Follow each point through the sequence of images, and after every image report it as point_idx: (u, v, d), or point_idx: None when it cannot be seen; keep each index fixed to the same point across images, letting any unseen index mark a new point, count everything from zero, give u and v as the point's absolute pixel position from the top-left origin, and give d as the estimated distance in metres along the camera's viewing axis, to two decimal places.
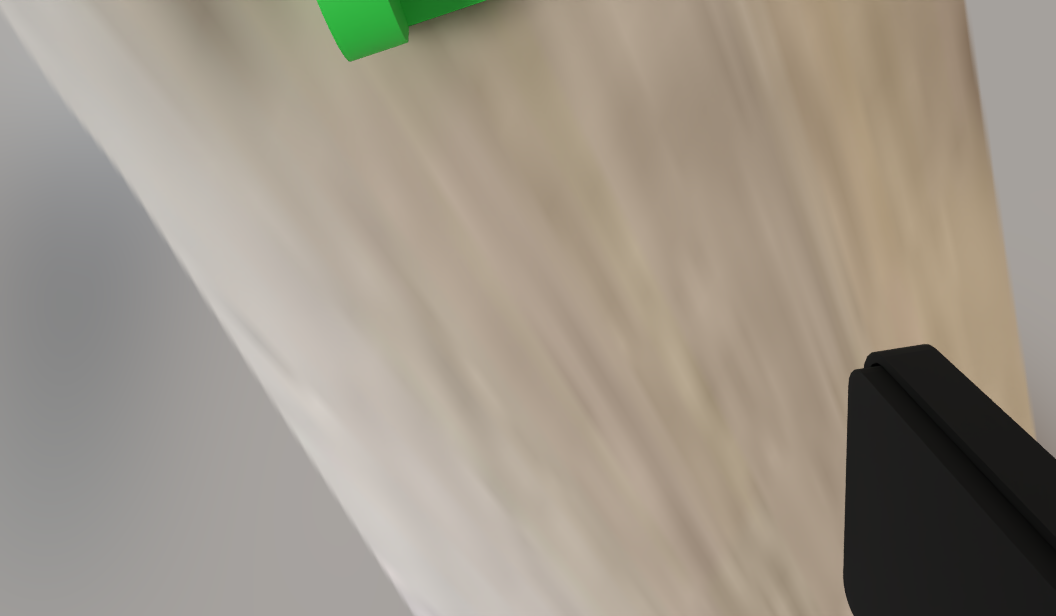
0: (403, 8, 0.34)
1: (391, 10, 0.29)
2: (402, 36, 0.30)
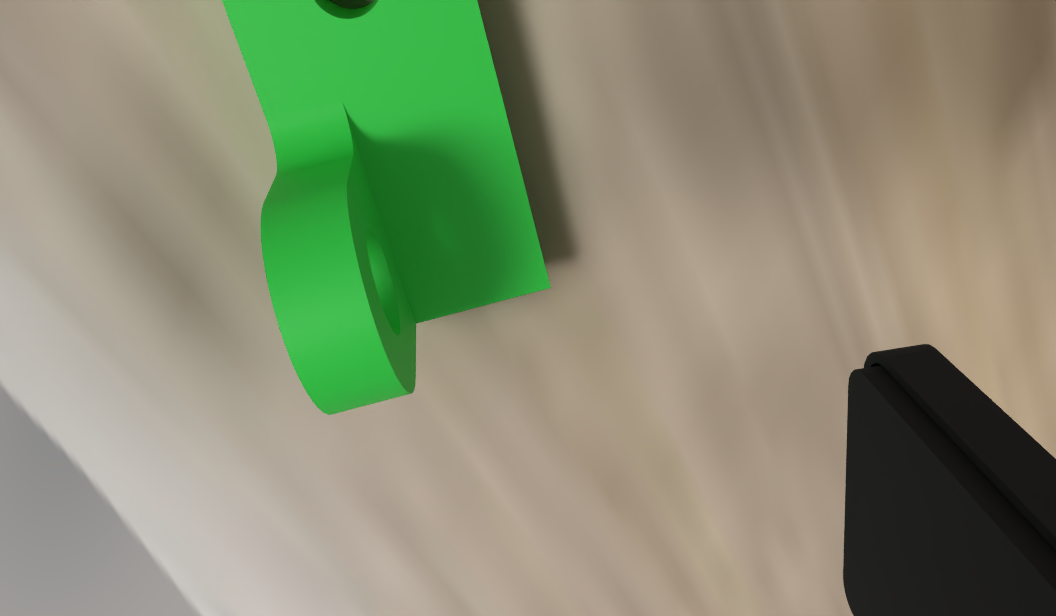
0: (410, 303, 0.27)
1: (396, 378, 0.22)
2: (408, 393, 0.23)
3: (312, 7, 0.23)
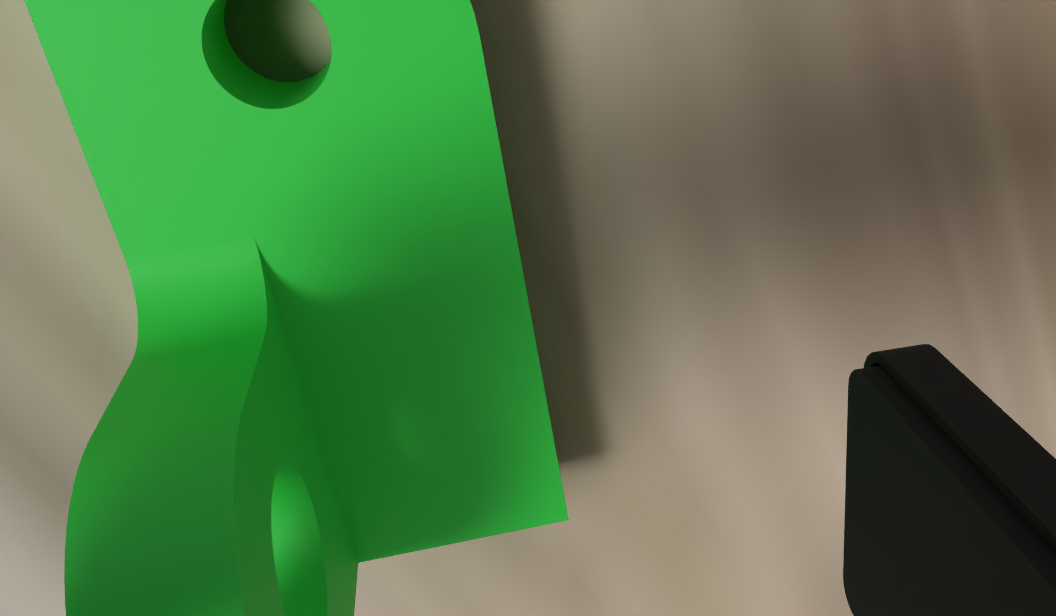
0: (351, 535, 0.17)
1: None
2: None
3: (208, 86, 0.14)
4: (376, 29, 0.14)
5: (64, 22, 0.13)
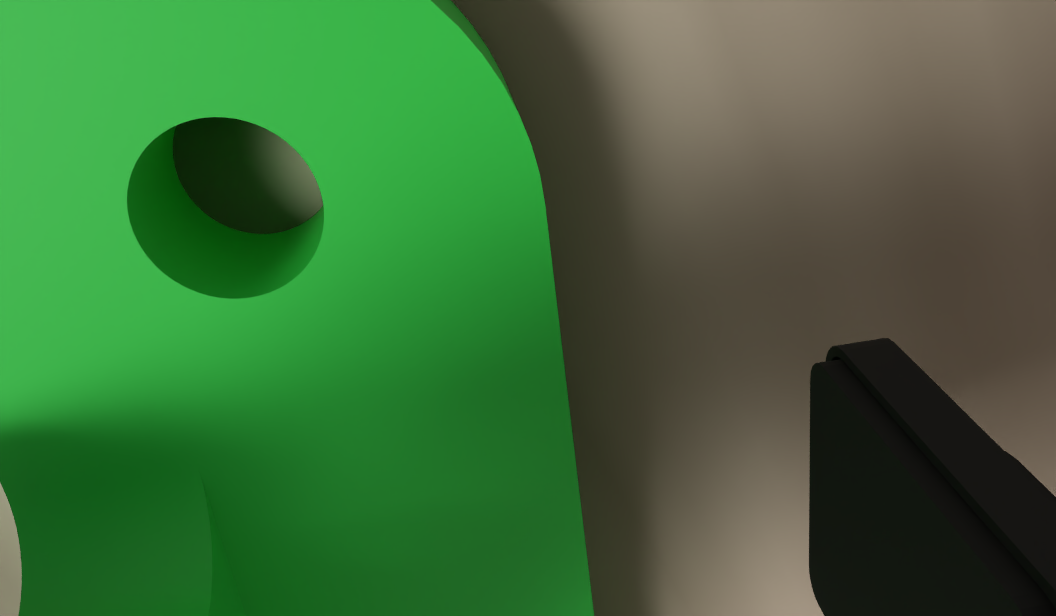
0: None
1: None
2: None
3: (136, 266, 0.09)
4: (392, 192, 0.09)
5: None
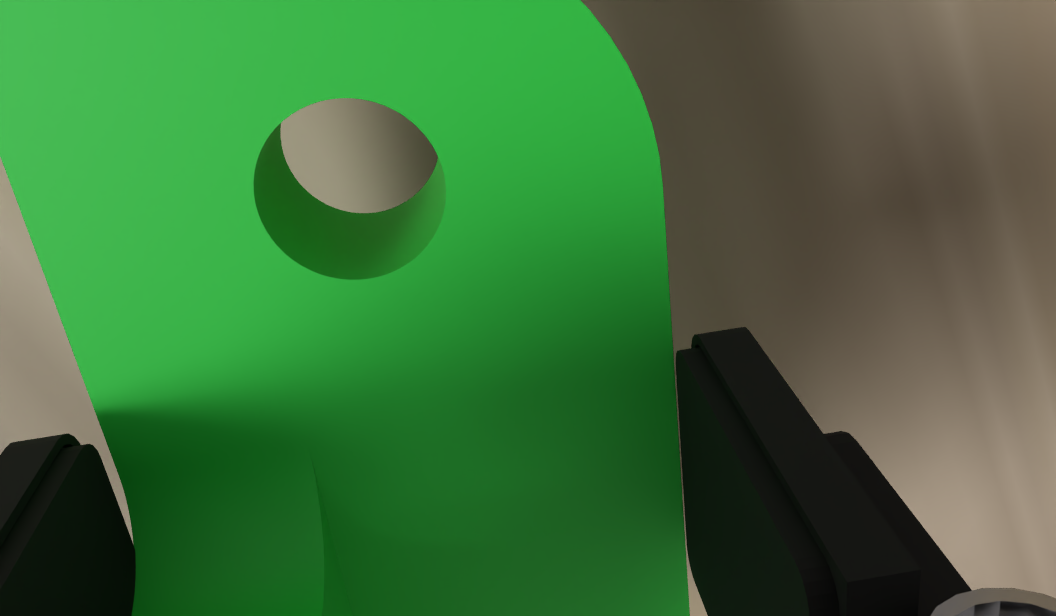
0: None
1: None
2: None
3: (259, 247, 0.09)
4: (513, 174, 0.09)
5: (45, 150, 0.09)
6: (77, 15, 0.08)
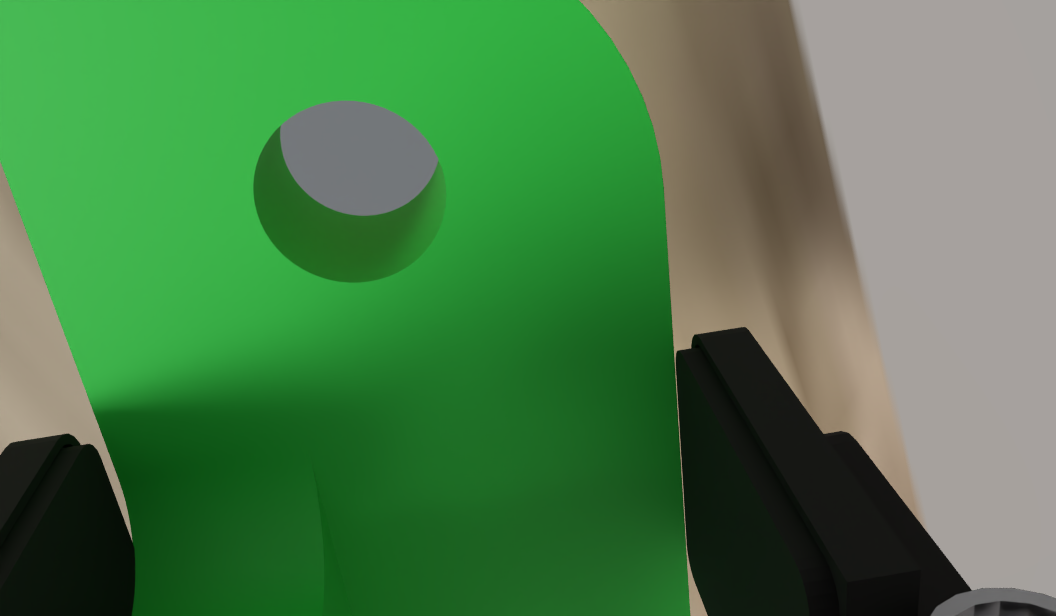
0: None
1: None
2: None
3: (259, 250, 0.09)
4: (514, 176, 0.09)
5: (43, 153, 0.09)
6: (76, 18, 0.08)
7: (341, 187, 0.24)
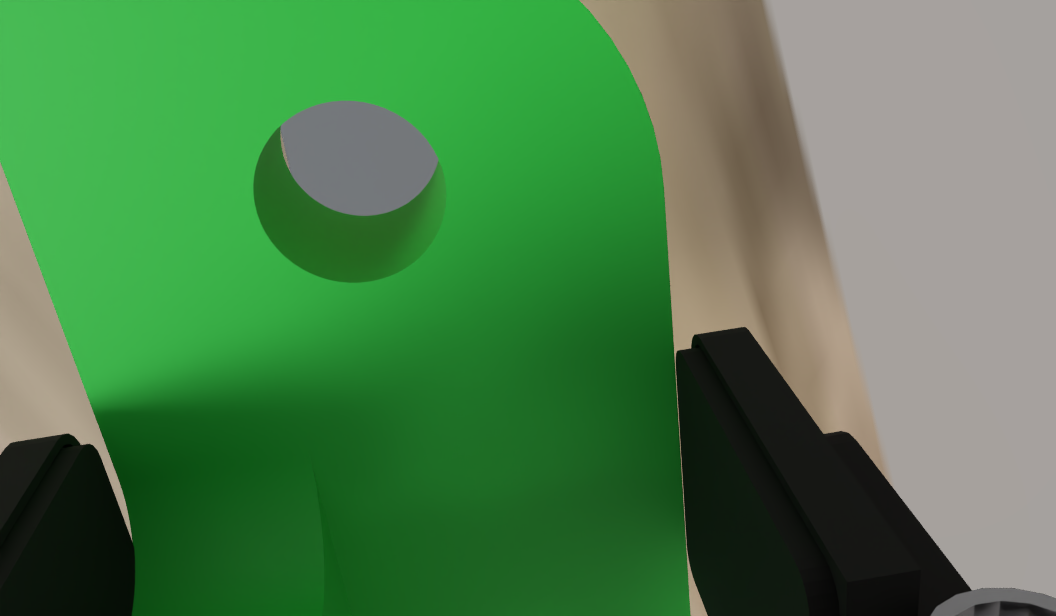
0: None
1: None
2: None
3: (259, 250, 0.09)
4: (514, 177, 0.09)
5: (43, 154, 0.09)
6: (76, 18, 0.08)
7: (341, 160, 0.25)
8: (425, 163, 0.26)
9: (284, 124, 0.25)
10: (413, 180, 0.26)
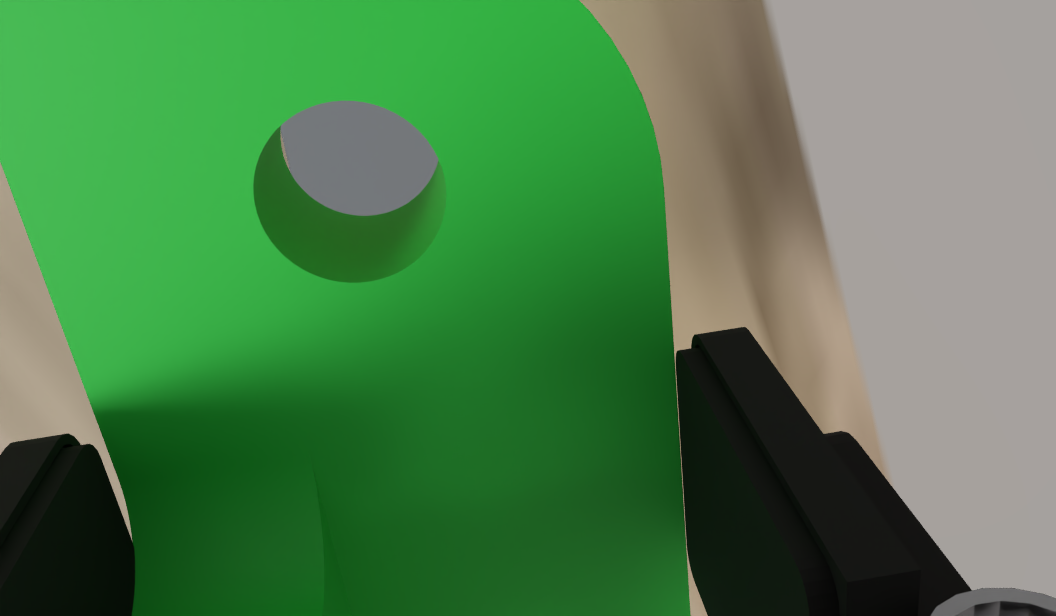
0: None
1: None
2: None
3: (259, 250, 0.09)
4: (514, 177, 0.09)
5: (43, 154, 0.09)
6: (76, 18, 0.08)
7: (341, 160, 0.25)
8: (425, 163, 0.26)
9: (284, 124, 0.25)
10: (413, 180, 0.26)
